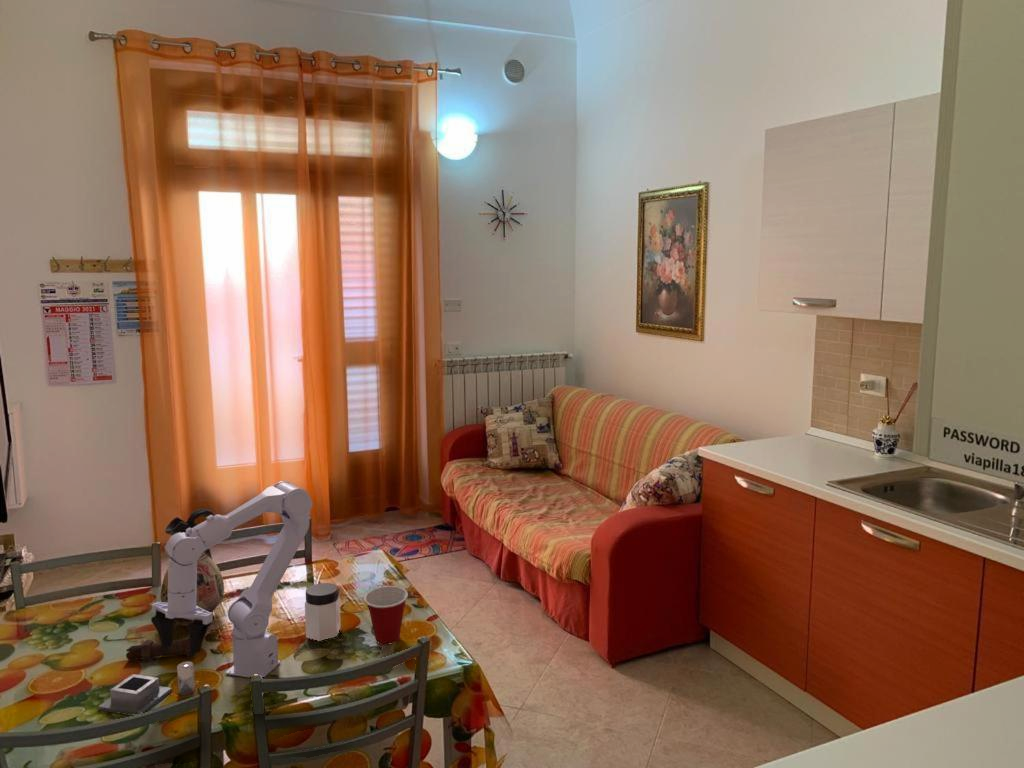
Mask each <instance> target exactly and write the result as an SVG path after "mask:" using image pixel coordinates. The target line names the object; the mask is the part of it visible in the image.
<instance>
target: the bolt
mask: <svg viewBox="0 0 1024 768" xmlns="http://www.w3.org/2000/svg"><path fill="white" fill-rule="evenodd" d="M175 655H186V657H187V659H192V658H194V657H196V655H197V653H196V654H195V655H192V654H191V651H190V636H189V633H188V635H187V636H186V638H185V639H184V638H183V639H177V640H172V645H170V646H168V647H166V648H163V647H162V644H161V642H154V641H153V640H152V639H146V640H145V641H143V642H142V644H137V645H130V646H129V647H128V648H127V649H126V654H125V656H126V659H128V660H129V661H130V660H140V659H142V661H143V662H145V663H146V662H151V661H152V660H154V658H157V657H166V656H175Z"/></svg>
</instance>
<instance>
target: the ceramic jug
mask: <svg viewBox="0 0 1024 768" xmlns="http://www.w3.org/2000/svg"><path fill="white" fill-rule="evenodd" d="M210 515H213V516H215V514H214V513H213V511H212V510H210V509H208V508H204V507H203V508H198V509H195V510H194V511H192V512H191V513H190V514H189V516H188V518H187V520H186V521H184V520H183V519H181V518H180V517H178V516H176V517H174V518H173V519H172V520H171V521H170V522H169V524H167V526H166V528H165V531H164V532H165V534H166V535H170V536H171V535H172V536H173V535H174V534H176V533H180V532H181V533H182V532H184V533H186V529H188V528H189V527H190V528H193V527H195V526H197V525H199V523H196V522H195V521H196V520H197V519H198V518H202V517H205V518H206V517H208V516H210ZM211 553H212V552H211V548H209V549H207V550H205V551H204V552H202V554H201V556H200V557H199V559H198V560H197V594H196V606H198V607H200V608H202V609H204V610H206V611H208V612H211V613H213V614H214V611H215V610H216V608H217V607H219V604H221V602H222V600H223V597H224V593H225V586H224V585H225V583H224V579H223V578H224V577H223V575H222V572H221V571H220V568H219V567H218V565H217V563H216V562H215V560H214V559H213V557H212V554H211ZM168 569H169V566H168V568H167V569H166V571H165V574H164V576H163V579H162V583H161V588H160V600H161V601H160V602H165V603H168ZM226 607H227V606H226ZM191 623H194V620H190V619H185V618H175V622H174V624H177V626H178V625H179V626H182V627H183V626H184V627H187V625H189V624H191Z"/></svg>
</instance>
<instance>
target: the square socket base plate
mask: <svg viewBox="0 0 1024 768" xmlns="http://www.w3.org/2000/svg"><path fill="white" fill-rule="evenodd" d="M172 691H173V689H172V687H168V686H161V685H160V679H159V677H156V676H155V677H153V676H149V675H148V676H147V675H141V674H136V673H135V674H134V673H133V674H131V675H129V676H128V677H126V678H125V679H124V680H122V681H121V682H119V683H118V684H117V685H115V686H113V687H112V688H111V689H110V690H109V693H110V698H108V699H106V700H105V701H104V702H102V703H101V704H99V705H98V706H97V709H98V711H103V712H108V711H109V712H108V713H114V712H120V713H126V714H130V715H129V716H132V715H131V714H139V713H141V712H144V711H146V710H147V709H148V710H150V709H151V708H152V707H153V706H155V705H156V704H158V702H160V701H162V700H163V699H165V698H166V697H167V696H168V695H169V694H170V693H172ZM149 708H150V709H149ZM148 710H147V711H148ZM147 711H146V712H147ZM120 713H119V714H120ZM144 713H145V712H144ZM126 714H125V715H126Z"/></svg>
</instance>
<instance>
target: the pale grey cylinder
mask: <svg viewBox="0 0 1024 768" xmlns="http://www.w3.org/2000/svg"><path fill="white" fill-rule="evenodd" d="M176 669H177V686H178V694H179V695H181V696H186V695H190V694H192V693H193V692H195V688H196V687H195V673H194V662H192V661H183V662H181V663H179V664H178V665H177V666H176Z"/></svg>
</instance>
